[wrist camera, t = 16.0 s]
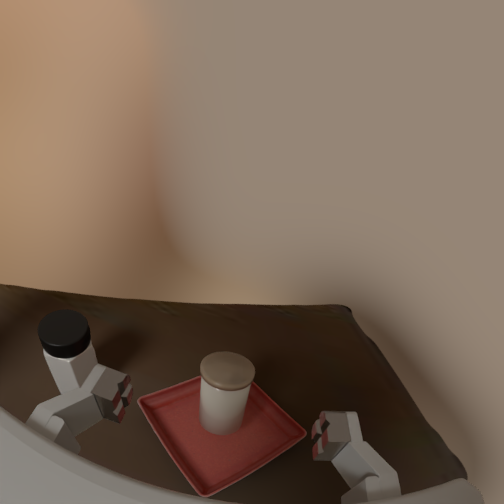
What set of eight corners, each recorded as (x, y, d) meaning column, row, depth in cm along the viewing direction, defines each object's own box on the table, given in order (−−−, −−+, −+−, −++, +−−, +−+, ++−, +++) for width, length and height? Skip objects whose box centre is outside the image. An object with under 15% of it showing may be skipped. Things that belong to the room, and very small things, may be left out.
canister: (189, 426, 31) (191, 374, 29) (207, 397, 37) (212, 346, 35) (235, 442, 30) (246, 392, 27) (248, 410, 36) (260, 360, 33)
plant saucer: (202, 504, 23) (203, 499, 22) (137, 409, 35) (135, 397, 34) (303, 442, 35) (309, 433, 33) (231, 373, 47) (234, 361, 46)
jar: (108, 396, 35) (93, 342, 31) (62, 405, 31) (37, 351, 26) (96, 358, 42) (84, 304, 37) (55, 365, 37) (37, 310, 32)
